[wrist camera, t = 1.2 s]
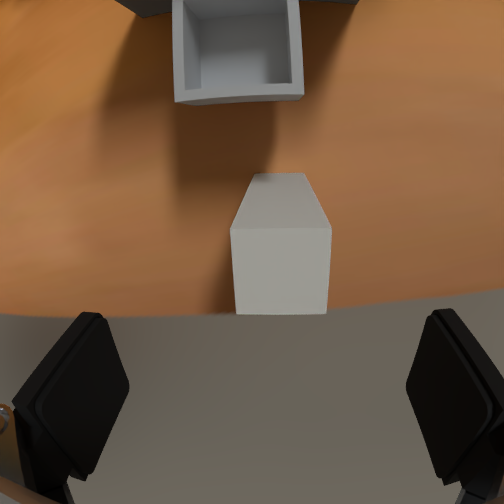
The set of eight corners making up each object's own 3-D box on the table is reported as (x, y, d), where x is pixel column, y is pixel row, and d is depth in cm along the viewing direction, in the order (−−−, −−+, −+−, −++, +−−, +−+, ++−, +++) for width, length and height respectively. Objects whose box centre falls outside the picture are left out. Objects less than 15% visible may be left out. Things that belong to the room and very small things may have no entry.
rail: (303, 172, 25) (331, 227, 12) (303, 219, 27) (326, 313, 14) (254, 173, 25) (230, 229, 13) (256, 220, 27) (236, 314, 14)
